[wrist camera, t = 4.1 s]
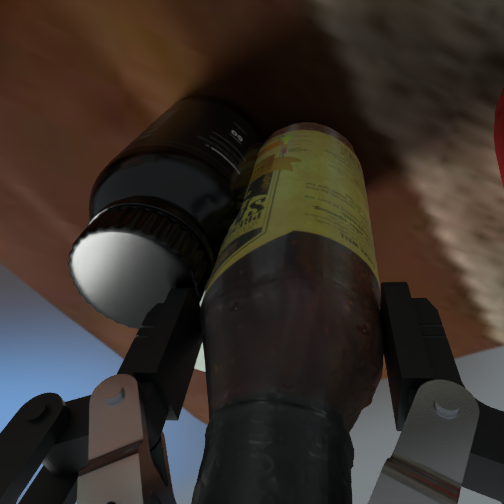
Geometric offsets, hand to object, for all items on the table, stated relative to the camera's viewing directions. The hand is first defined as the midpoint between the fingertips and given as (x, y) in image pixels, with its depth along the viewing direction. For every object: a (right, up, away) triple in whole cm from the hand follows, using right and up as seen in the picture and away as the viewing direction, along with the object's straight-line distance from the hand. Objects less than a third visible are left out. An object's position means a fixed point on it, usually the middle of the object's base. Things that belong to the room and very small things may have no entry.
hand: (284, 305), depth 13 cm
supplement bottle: (-3, +8, +10) cm, 13 cm away
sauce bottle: (+2, +6, +10) cm, 12 cm away
